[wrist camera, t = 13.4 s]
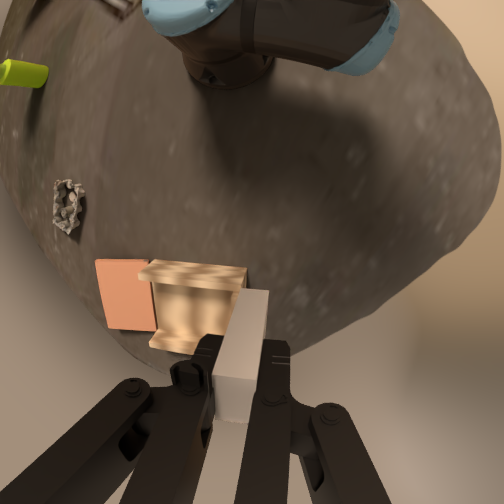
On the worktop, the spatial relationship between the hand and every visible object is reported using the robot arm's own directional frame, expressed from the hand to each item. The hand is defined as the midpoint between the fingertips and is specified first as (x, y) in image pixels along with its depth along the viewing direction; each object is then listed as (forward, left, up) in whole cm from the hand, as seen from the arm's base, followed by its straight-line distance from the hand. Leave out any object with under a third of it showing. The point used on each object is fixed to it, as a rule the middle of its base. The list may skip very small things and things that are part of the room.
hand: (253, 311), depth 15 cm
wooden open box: (+10, -21, -32) cm, 40 cm away
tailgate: (+5, -30, -31) cm, 43 cm away
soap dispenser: (-56, -32, -33) cm, 72 cm away
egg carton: (-21, -37, -33) cm, 54 cm away
